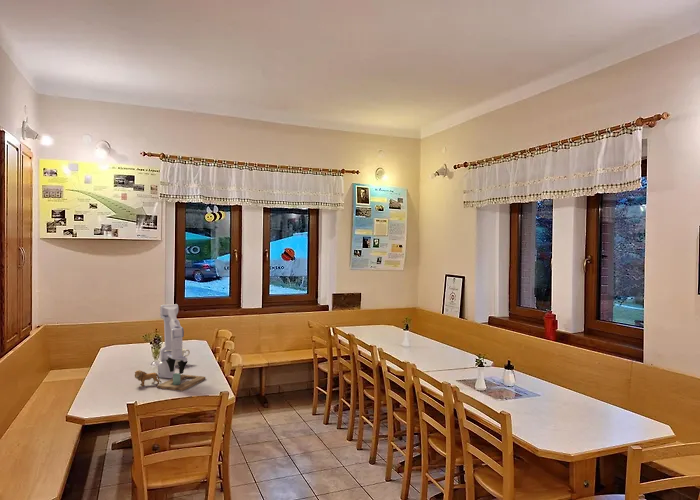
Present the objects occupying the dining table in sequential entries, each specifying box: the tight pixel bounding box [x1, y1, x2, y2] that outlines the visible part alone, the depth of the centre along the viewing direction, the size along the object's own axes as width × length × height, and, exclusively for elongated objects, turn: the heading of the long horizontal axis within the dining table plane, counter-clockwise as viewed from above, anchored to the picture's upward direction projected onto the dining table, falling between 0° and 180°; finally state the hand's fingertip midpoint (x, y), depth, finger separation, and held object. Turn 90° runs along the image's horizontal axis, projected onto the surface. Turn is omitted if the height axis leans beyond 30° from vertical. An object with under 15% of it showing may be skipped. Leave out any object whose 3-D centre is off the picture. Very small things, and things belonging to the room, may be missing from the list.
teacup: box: [166, 347, 191, 367], centre depth 326 cm, size 12×15×10 cm
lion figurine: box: [134, 369, 162, 387], centre depth 281 cm, size 15×5×9 cm, turn 122°
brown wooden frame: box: [156, 373, 206, 392], centre depth 285 cm, size 16×24×2 cm, turn 166°
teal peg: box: [172, 372, 182, 385], centre depth 279 cm, size 4×4×7 cm
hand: (176, 372), depth 279 cm, fingers open, 7 cm apart
